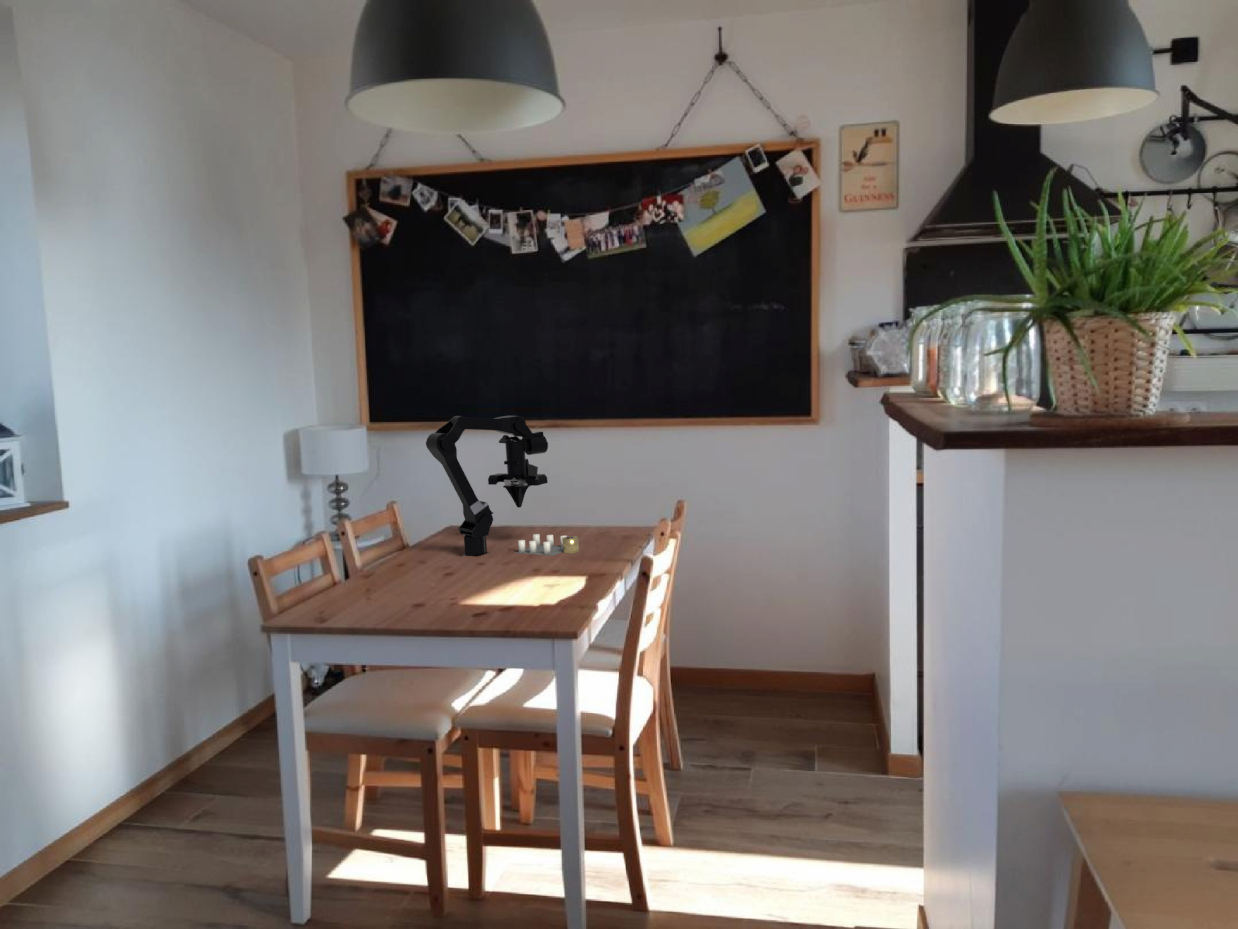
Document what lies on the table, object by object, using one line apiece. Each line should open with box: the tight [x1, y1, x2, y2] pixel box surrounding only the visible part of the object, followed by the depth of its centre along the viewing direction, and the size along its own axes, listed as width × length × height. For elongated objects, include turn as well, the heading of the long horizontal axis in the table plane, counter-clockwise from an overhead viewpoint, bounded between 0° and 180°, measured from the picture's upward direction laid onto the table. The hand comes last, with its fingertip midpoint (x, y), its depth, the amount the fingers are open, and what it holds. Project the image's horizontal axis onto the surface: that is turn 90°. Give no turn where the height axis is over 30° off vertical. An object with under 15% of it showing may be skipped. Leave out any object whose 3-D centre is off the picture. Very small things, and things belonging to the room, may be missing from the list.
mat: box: [514, 544, 564, 557], centre depth 282 cm, size 12×14×1 cm
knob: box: [562, 535, 580, 554], centre depth 277 cm, size 5×5×5 cm
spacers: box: [517, 533, 568, 556], centre depth 282 cm, size 11×12×4 cm
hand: (519, 507), depth 291 cm, fingers closed
